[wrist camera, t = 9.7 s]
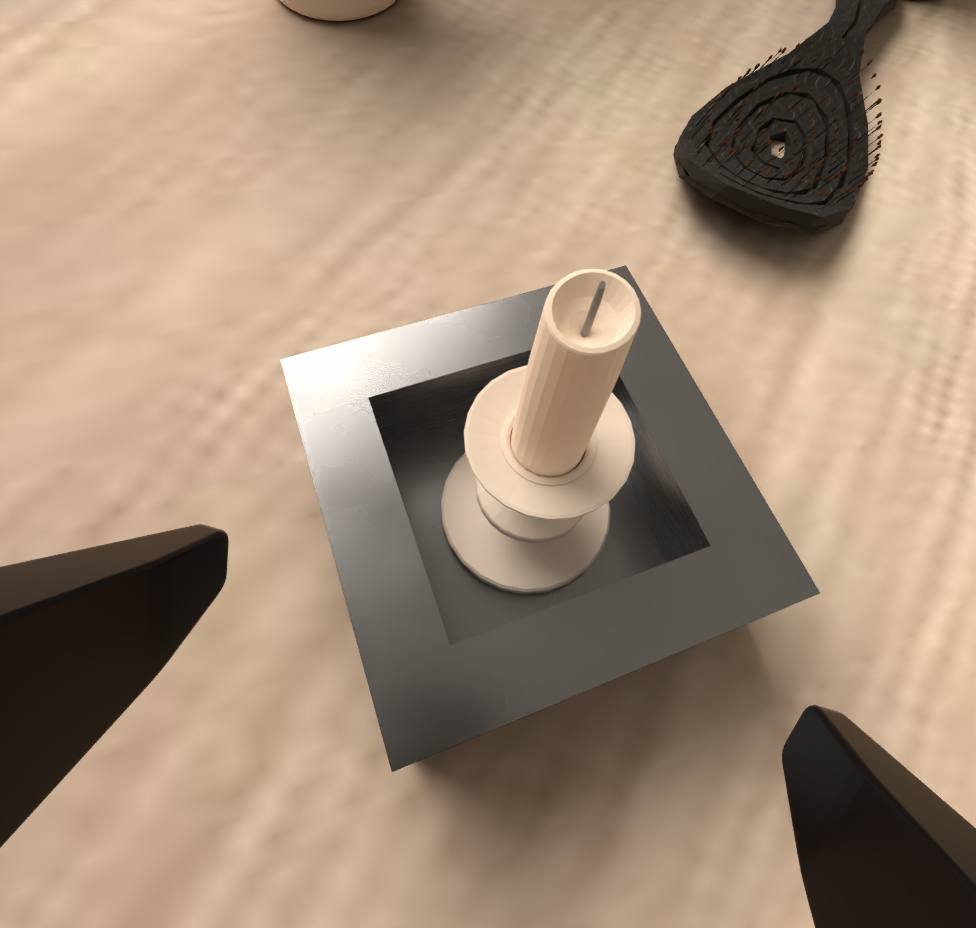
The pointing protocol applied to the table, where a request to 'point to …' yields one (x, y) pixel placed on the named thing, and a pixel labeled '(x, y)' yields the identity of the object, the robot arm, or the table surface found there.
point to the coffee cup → (338, 8)
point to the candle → (548, 445)
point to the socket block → (501, 614)
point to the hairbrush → (790, 130)
